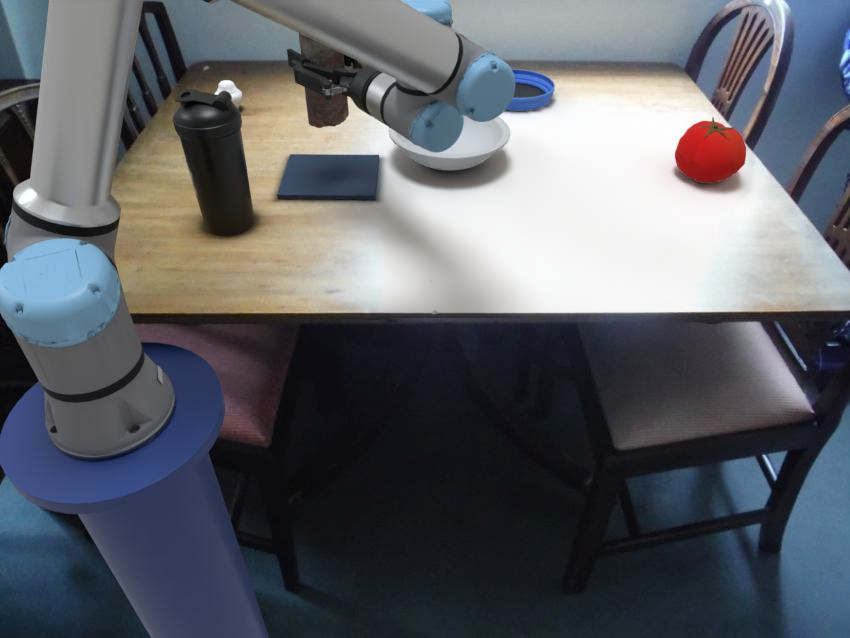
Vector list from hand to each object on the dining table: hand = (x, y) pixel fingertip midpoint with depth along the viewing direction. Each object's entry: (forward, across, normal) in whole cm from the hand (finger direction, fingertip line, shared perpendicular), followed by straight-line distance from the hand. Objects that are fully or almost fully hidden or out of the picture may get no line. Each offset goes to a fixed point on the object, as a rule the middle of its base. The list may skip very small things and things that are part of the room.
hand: (309, 52), depth 115 cm
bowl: (+5, +56, -23) cm, 61 cm away
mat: (-3, 0, -23) cm, 23 cm away
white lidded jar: (+37, -2, -23) cm, 44 cm away
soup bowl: (-11, +23, -23) cm, 34 cm away
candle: (-5, 0, -11) cm, 12 cm away
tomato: (-46, +60, -23) cm, 79 cm away
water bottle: (-7, -22, -23) cm, 33 cm away
